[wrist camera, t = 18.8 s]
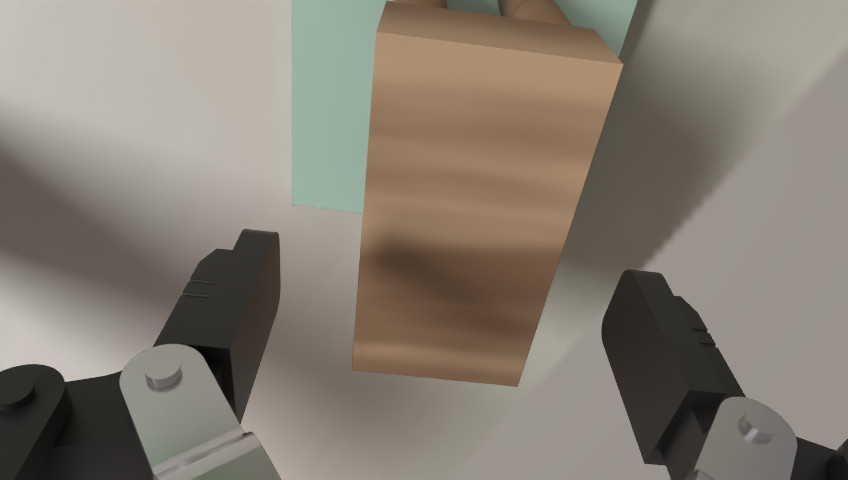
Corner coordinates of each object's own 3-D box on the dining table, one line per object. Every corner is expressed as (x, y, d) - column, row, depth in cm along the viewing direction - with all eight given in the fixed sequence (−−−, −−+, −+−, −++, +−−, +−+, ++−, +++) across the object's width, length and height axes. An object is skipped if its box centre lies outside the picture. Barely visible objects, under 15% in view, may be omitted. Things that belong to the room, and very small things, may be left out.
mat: (297, 192, 28) (292, 204, 27) (298, -117, 20) (291, -115, 19) (554, 224, 29) (558, 237, 28) (646, -62, 21) (656, -58, 20)
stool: (517, 386, 19) (623, 64, 13) (351, 370, 19) (376, 31, 12) (493, 223, 27) (551, -22, 21) (378, 209, 27) (401, -44, 21)
